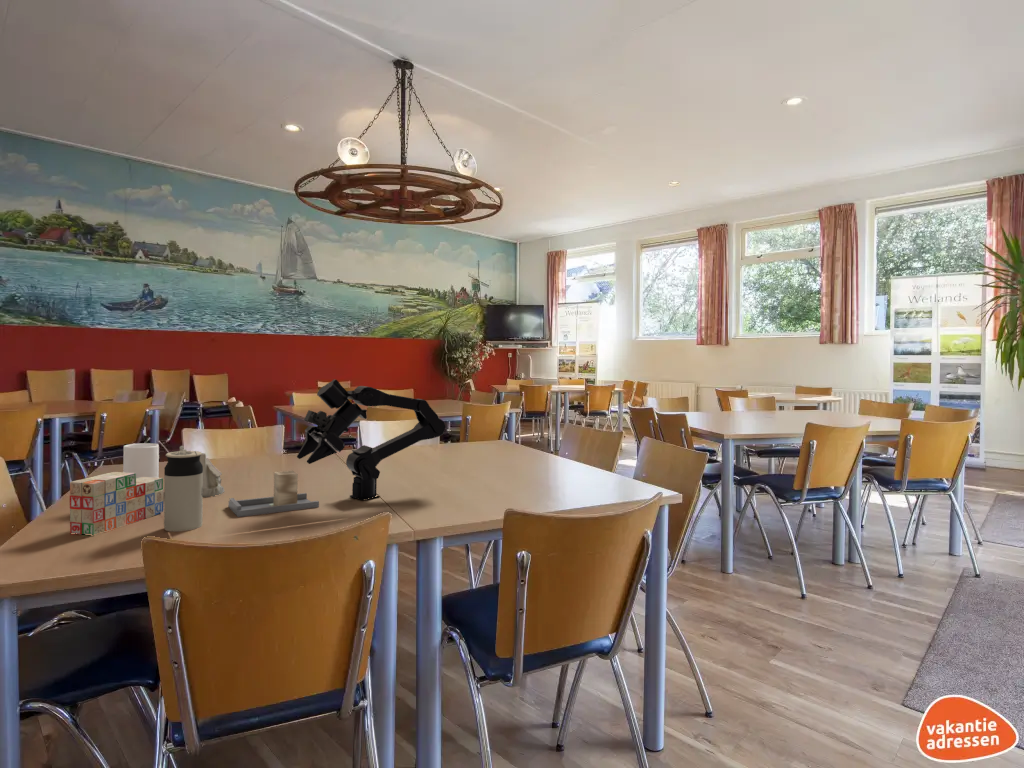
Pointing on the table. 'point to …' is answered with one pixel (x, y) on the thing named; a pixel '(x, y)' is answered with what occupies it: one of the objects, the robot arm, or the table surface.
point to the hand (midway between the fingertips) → (302, 460)
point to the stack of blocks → (113, 501)
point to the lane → (268, 505)
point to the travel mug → (183, 491)
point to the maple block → (285, 487)
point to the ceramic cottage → (209, 477)
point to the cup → (141, 459)
